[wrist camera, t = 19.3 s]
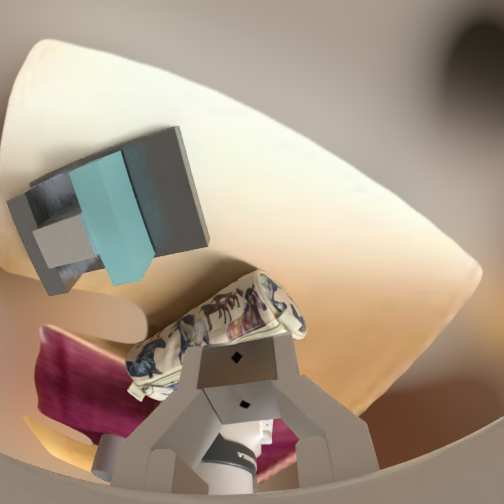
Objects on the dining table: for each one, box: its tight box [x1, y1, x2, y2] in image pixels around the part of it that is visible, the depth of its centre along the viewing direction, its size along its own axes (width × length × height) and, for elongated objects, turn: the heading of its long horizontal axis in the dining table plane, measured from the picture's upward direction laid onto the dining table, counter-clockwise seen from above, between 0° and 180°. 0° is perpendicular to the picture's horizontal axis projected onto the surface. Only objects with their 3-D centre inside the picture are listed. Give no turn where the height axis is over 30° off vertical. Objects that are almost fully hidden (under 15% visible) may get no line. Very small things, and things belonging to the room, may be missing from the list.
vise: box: [7, 126, 210, 296], centre depth 27 cm, size 12×18×7 cm, turn 102°
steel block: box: [32, 203, 99, 269], centre depth 26 cm, size 4×6×6 cm, turn 102°
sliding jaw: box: [69, 151, 155, 286], centre depth 26 cm, size 11×3×5 cm, turn 12°
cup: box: [91, 434, 125, 483], centre depth 50 cm, size 8×8×10 cm
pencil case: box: [125, 269, 307, 404], centre depth 33 cm, size 22×8×10 cm, turn 126°
